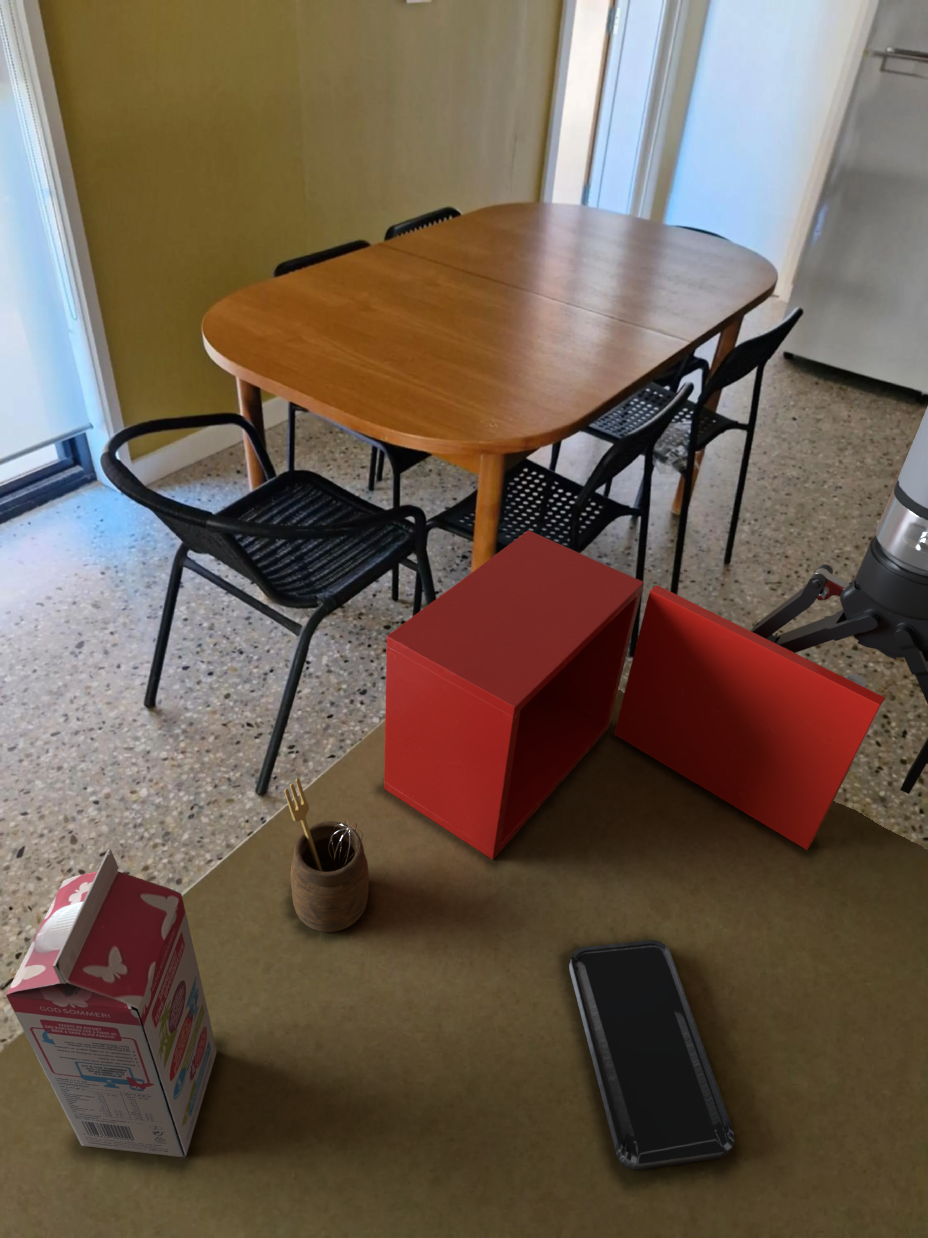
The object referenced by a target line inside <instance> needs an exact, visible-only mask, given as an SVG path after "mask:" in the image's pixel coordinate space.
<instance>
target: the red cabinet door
mask: <svg viewBox="0 0 928 1238" xmlns="http://www.w3.org/2000/svg"><path fill="white" fill-rule="evenodd" d="M633 652H634V653H633V657H632V660H631V665H630V668H629V673H628V676H627V681H626V685H625V689H624V692H623V697H622V701H621V705H620V709H619V711H618V716H617V720H616V724H615V729H614V732H613V735H614V736H616V737H617V738H619V739H621V740H623V741H624V742H626V743H628V744H629V745H631V746H632V747H634V748H636V749H637V750H639V751H641V752H642V753H644V754H646V755H648V756H649V757H650V758H652V759H654V760H656V761H658V762H659V763H661V764H663V765H664V766H666V767H668V768H669V769H671V770H673V771H674V772H676V773H677V774H679V775H681V776H683V777H684V778H686V779H688V780H689V781H691V782H692V783H694V784H696V785H698V786H699V787H701V788H703V789H705V790H706V791H708V792H709V793H711V794H712V795H714V796H716V797H717V798H719V799H721V800H723V801H724V802H725V803H727V804H729V805H731V806H733V807H734V808H736V809H738V810H739V811H741V812H743V813H744V814H746V815H747V816H749V817H751V818H753V819H754V820H756V821H757V822H759V823H761V824H762V825H765V826H766V827H768V828H769V829H771V830H772V831H774V832H776V833H778V834H779V835H781V836H783V837H784V838H786V839H788V840H789V841H791V842H793V843H795V844H796V845H798V846H799V847H801V848H803V849H804V850H806V851H807V850H809V848H810V847H811V846H812V844H813V842H814V840H815V838H816V836H817V834H818V832H819V830H820V828H821V826H822V824H823V822H824V820H825V818H826V816H827V814H828V812H829V811H830V809H831V807H832V804H833V803H834V800H835V798H836V797H837V795H838V792H839V791H840V789H841V787H842V785H843V783H844V781H845V779H846V777H847V775H848V773H849V771H850V769H851V767H852V765H853V763H854V761H855V759H856V757H857V755H858V753H859V752H860V749H861V747H862V745H863V743H864V742H865V740H866V737H867V736H868V734H869V732H870V730H871V728H872V727H873V724H874V722H875V720H876V718H877V716H878V714H879V712H880V710H881V708H882V706H883V704H884V702H885V700H886V697H885V696H884V695H881V694H879V693H877V692H875V691H873V690H871V689H869V688H868V687H867V688H866V685H867V681H866V678H864V677H863V676H861V675H860V674H856V673H850V674H848V675H847V676H846V677H844V676H842V675H841V674H838V673H836V672H835V671H832V670H831V669H829V668H827V667H824V666H822V665H820V664H818V663H816V662H814V661H812V660H810V659H808V658H806V657H804V656H802V655H800V654H798V653H797V652H796V653H794V652H792V651H790V650H788V649H786V648H784V647H782V646H780V645H778V644H776V643H774V642H772V641H770V640H767V639H765V638H763V637H761V636H759V635H757V634H755V633H753V632H751V630H750V629H747V628H745V627H743V626H741V625H739V624H737V623H735V622H733V621H731V620H729V619H727V618H724V617H722V616H721V615H719V614H717V613H715V612H712V611H711V610H709V609H707V608H704V607H703V606H700V605H699V604H696V603H695V602H692V601H690V600H689V599H686V598H684V597H682V596H680V595H678V594H676V593H674V592H672V591H670V590H668V589H666V588H664V587H662V586H660V585H658V584H656V585H654V587H652V588H651V589H650V590H649V593H648V597H647V600H646V605H645V609H644V612H643V616H642V620H641V624H640V629H639V632H638V636H637V641H636V643H635V649H634V651H633Z"/></svg>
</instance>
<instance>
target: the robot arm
mask: <svg viewBox="0 0 928 1238" xmlns="http://www.w3.org/2000/svg"><path fill="white" fill-rule="evenodd" d="M834 596H836V597H839V601H840V602H839V603H840V605H841V607H842V609H840V610H839V611H838V612H836V613H834V614H832V615H830V616H826V617H824V618H821V619H819V620H815V621H813V622H810V623H807V624H805V625H802V626H800V627H797V628H794V629H792V630H788V631H785V632H783V633H780V634H779V632H778V631H779V630H780V629H781V628H783V627H785V626H786V625H787V624H788V623H790V622H791V621H793V620H794V619H795V618H797V617H798V616H800V615H801V614H802V613H803V612H805V611H806V610H808V609H809V608H810V607H811V606H813V604H814V603H815V602H816V600H817V601H819V602H821V601H827V600H828V599H830V598H831V597H834ZM750 631H751V632H753V633H755V634H757V635H759V636H761V637H763V638H765V639H767V640H770V641H772V642H774V643H776V644H778V645H780V646H782V647H784V648H786V649H788V650H790V651H792V652H794V653H796V654H797V653H799V652H802V651H806V650H808V649H811V648H813V647H818V646H820V645H822V644H826V643H828V642H831V641H834V642H838V641H841V640H843V639H847V638H850V637H852V636H853V637H854V638H855V639H856V640H857V644H859V645H860V646H863V647H865V648H870V649H874V650H877V651H879V652H880V653H882V654H883V655H885V656H886V657H889V658H890V659H893V660H897V658H899V659H904V660H905V662H906V665H907V667H908V669H909V672H910V674H911V675H913V676H915V679H916V682H917V683H918V685H919V688H920V690H921V692H922V695H923V697H924V699H925V702H926V704H927V705H928V406H927V407H926V409H925V412H924V414H923V417H922V418H921V422H920V423H919V427H918V429H917V431H916V434H915V436H914V438H913V442H912V444H911V446H910V448H909V451H908V453H907V456H906V459H905V460H904V463H903V465H902V468H901V470H900V473H899V474H898V478H897V480H896V483H895V484H894V487H893V489H892V491H891V493H890V496H889V498H888V500H887V502H886V505H885V507H884V510H883V512H882V514H881V516H880V519H879V521H878V522H877V526H876V528H875V536H873V538H872V539H871V540H870V542H869V545H868V547H867V549H866V551H865V553H864V556H863V558H862V561H861V564H860V565H859V568H858V570H857V572H856V575H855V577H854V579H853V580H851V581H849V582H848V581H846V580H844V579H842V578H840V577H838V576H837V575H834V569H833V567H832V566H830V565H829V564H826V563H825V564H824V563H823V564H821V565H819V567H818V568H817V569H816V571H815V572H814V573H813V575H812V576H811V577H810V578H809V580H808V581H807V583H806V585H805V586H804V587H802V588H801V589H800V590H798V591H797V592H795V593H794V594H793V595H791V596H790V597H789V598H787V600H786V601H784V602H783V603H781V604H780V605H778V607H776V608H775V609H773V610H772V611H771V612H770V613H768V614H767V615H766V616H763V618H761V619H760V620H759V621H757V622H756V624H755V625H754V626H752V628H751V629H750ZM927 765H928V737H927V738H926V740H925V741H924V743H923V745H922V747H921V749H920V751H919V752H918V754H917V755H916V758H915V760H914V761H913V763H912V764H911V766H910V767H909V770H908V772H907V774H906V776H905V778H904V780H903V783H902V784H901V786H900V789H899V790H900V791H901V792H903V793H905V794H907V795H910V793H911V792H912V790H913V788H914V787H915V785H916V784H917V781H918V780H919V778H920V777H921V774H922V773H923V771H924V769H925V768H926V766H927Z"/></svg>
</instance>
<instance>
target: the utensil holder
mask: <svg viewBox="0 0 928 1238" xmlns="http://www.w3.org/2000/svg"><path fill="white" fill-rule="evenodd" d="M295 784H296V787H295ZM295 784H294V783H290V784H289V788H290V791H289V789H288V788H285V789H284V796H285V799H286V801H287V805H288V808H289V811H290V815H291V819H292V820H293V821H294V822H300V824H301V826H302V830H303V831H302V833H301V834H300V835H299V836H298V838H297V840H296V842H295V845H294V849H293V858H292V862H291V866H290V886H291V887H290V888H291V896H292V898H291V899H292V904H293V908H294V911H295V913H296V915H297V917H298V918H299V920H300V921H301V922H302V923H303V924H305V926H307V927H309V928H310V929H312V930H315V931H318V932H322V933H333V932H340V931H342V930H345V929H347V928H349V927H350V926H352V925H354V924H355V923H356V922H357V921H358V920H359V919H360V918H361V916H362V915H363V913H364V912H365V910H366V907H367V903H368V900H369V879H370V878H369V863H368V859H367V856H366V853H365V849H364V845H363V841H362V840H363V835H364V834H363V832H362V830H360V829H359V828H357V827H358V824H357V823H356V822H355V823H353V824H351V825H349V821H348V820H345V821H344V823H343V822H339V821H333V820H331V821H329V820H328V821H320V822H317V823H315V824H313V825H311V826H309V825H308V821H307V818H306V817H307V814H308V813H309V810H310V807H309V806H310V805H309V803H308V800H307V798H306V795H305V792H304V789H303V786H302V783H301V780H300V778H298V777H297V778H296V779H295ZM296 788H297V790H296ZM297 791H298V793H297ZM290 792H291V794H292V797H291V794H290ZM298 795H299V796H298ZM292 798H293V800H292ZM293 801H294V803H293ZM346 823H347V824H346ZM354 825H355V827H353V826H354ZM357 831H359V832H360V833H361V836H360V835H359V833H358V832H357Z"/></svg>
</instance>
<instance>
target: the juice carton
mask: <svg viewBox="0 0 928 1238" xmlns="http://www.w3.org/2000/svg"><path fill="white" fill-rule="evenodd" d="M183 899H184V898H183V895H182V893H181V892H180V891H178V890H174V889H172V888H170V887H167V886H164V885H161V884H158V883H155V882H152V881H149V880H146V879H143V878H139V877H137V876H134V875H132V874H131V875H130V874H128V873H124V872H122V871H119V865H118V863H117V860H116V858H115V856H114V854H113V851H112V850H111V849H107V851H106V852H105V855H104V857H103V859H102V860H101V863H100V866H99V868H98V870H97V871H93V872H88V873H83V874H79V875H74V876H71V877H70V878H66V879H64V880H63V881H62V882H61V885H60V886H59V889H58V891H57V892H56V895H55V896H54V899H53V901H52V902H51V905H50V906H49V908H48V911H47V912H46V914H45V917H44V918H43V920H42V922H41V924H40V926H39V928H38V930H37V932H36V934H35V936H34V938H33V940H32V942H31V944H30V946H29V948H28V949H27V952H26V954H25V955H24V958H23V960H22V962H21V964H20V966H19V967H18V969H17V972H16V974H15V975H14V977H13V980H12V981H11V984H10V985H9V987H8V989H7V991H6V994H5V996H6V999H7V1000H8V1002H9V1005H10V1006H11V1008H12V1010H13V1012H14V1014H15V1017H16V1019H17V1020H18V1023H19V1024H20V1027H21V1028H22V1030H23V1032H24V1034H25V1036H26V1038H27V1040H28V1042H29V1044H30V1046H31V1048H32V1050H33V1052H34V1054H35V1057H36V1058H37V1060H38V1062H39V1064H40V1067H41V1068H42V1070H43V1072H44V1074H45V1077H46V1079H47V1080H48V1082H49V1084H50V1087H51V1088H52V1090H53V1092H54V1094H55V1096H56V1098H57V1100H58V1102H59V1104H60V1106H61V1108H62V1110H63V1112H64V1114H65V1116H66V1118H67V1120H68V1122H69V1123H70V1126H71V1128H72V1130H73V1132H74V1134H75V1136H76V1138H77V1140H78V1142H79V1143H80V1146H82V1147H89V1148H100V1149H106V1150H107V1149H108V1150H115V1151H116V1150H117V1151H124V1152H125V1151H126V1152H133V1153H134V1152H135V1153H141V1154H142V1153H143V1154H152V1155H159V1156H168V1157H169V1156H170V1157H178V1158H187V1154H188V1152H189V1148H190V1145H191V1140H192V1137H193V1134H194V1131H195V1127H196V1124H197V1121H198V1117H199V1113H200V1110H201V1107H202V1103H203V1100H204V1097H205V1093H206V1090H207V1086H208V1083H209V1080H210V1077H211V1073H212V1069H213V1066H214V1063H215V1061H216V1060H215V1059H216V1056H217V1053H218V1051H217V1047H216V1042H215V1037H214V1032H213V1028H212V1023H211V1018H210V1014H209V1009H208V1005H207V1001H206V996H205V992H204V988H203V987H204V986H203V982H202V979H201V975H200V970H199V966H198V960H197V956H196V952H195V948H194V943H193V939H192V933H191V930H190V925H189V922H188V921H189V920H188V917H187V913H186V912H187V911H186V908H185V904H184V900H183Z"/></svg>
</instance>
